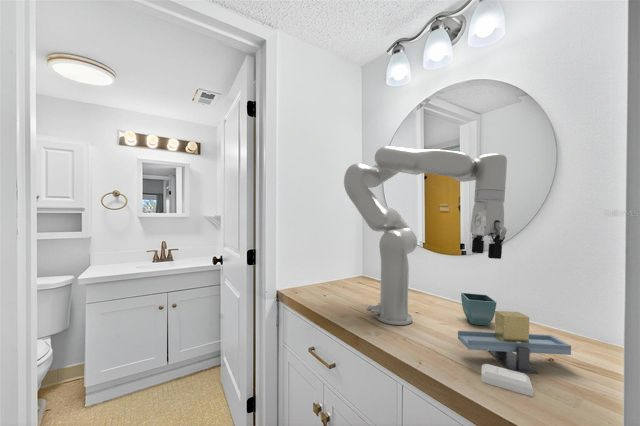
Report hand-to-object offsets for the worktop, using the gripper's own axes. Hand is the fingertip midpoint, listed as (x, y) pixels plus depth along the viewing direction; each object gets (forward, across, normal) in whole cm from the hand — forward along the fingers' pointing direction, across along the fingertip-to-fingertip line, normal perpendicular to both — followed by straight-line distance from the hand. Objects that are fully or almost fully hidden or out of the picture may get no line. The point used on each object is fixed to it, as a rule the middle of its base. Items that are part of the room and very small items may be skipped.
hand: (485, 255), depth 79 cm
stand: (+25, +11, +3) cm, 28 cm away
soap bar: (+26, +20, -4) cm, 33 cm away
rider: (+20, +10, +2) cm, 23 cm away
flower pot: (+26, -16, +6) cm, 31 cm away
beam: (+21, +10, +2) cm, 23 cm away
